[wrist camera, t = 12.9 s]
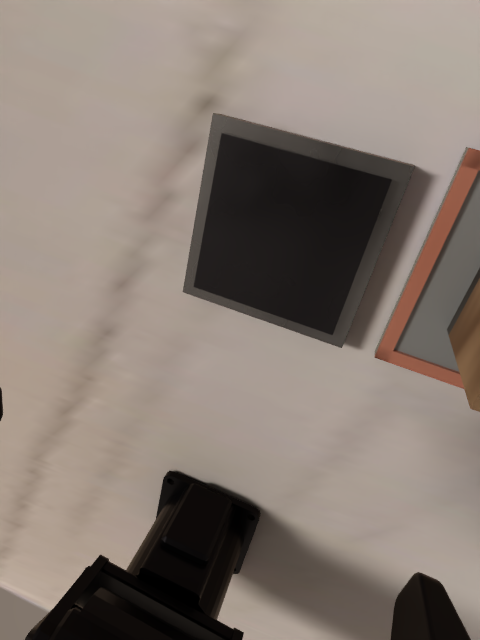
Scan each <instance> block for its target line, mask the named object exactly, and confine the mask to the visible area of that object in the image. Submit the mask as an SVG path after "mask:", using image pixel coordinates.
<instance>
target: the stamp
mask: <svg viewBox="0 0 480 640" xmlns="http://www.w3.org/2000/svg"><path fill="white" fill-rule="evenodd" d="M447 332H448V335H449V339H450V342H451V345H452V349H453V352H454V355H455V359H456V362H457V365H458V369H459V372H460V375H461V379H462V382H463V386H464V389H465V392H466V396H467V399H468V402H469V406H470V408H471V409H473V410H476V411H479V412H480V268H479V270H478V272H477V274H476V275H475V277H474V279H473V281H472V283H471V285H470V287H469V289H468V290H467V292H466V294H465V296H464V298H463V300H462V302H461V304H460V305H459V307H458V309H457V311H456V313H455V315H454V317H453V319H452V320H451V322H450V324H449V326H448V328H447Z"/></svg>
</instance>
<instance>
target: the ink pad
mask: <svg viewBox="0 0 480 640" xmlns="http://www.w3.org/2000/svg"><path fill="white" fill-rule="evenodd" d="M414 167H415V166H414V165H412V164H408V163H404V162H401V161H397V160H393V159H389V158H386V157H382V156H378V155H374V154H370V153H367V152H363V151H359V150H355V149H351V148H348V147H344V146H340V145H336V144H332V143H329V142H325V141H321V140H317V139H313V138H310V137H306V136H302V135H298V134H295V133H291V132H287V131H283V130H279V129H276V128H272V127H268V126H264V125H260V124H257V123H253V122H249V121H245V120H241V119H238V118H234V117H230V116H226V115H222V114H216V113H213V116H212V122H211V128H210V134H209V140H208V146H207V152H206V158H205V164H204V170H203V176H202V181H201V187H200V193H199V199H198V205H197V211H196V217H195V223H194V229H193V235H192V241H191V247H190V252H189V258H188V264H187V270H186V276H185V282H184V288H183V292H184V293H187V294H190V295H193V296H196V297H198V298H201V299H204V300H207V301H210V302H213V303H215V304H218V305H221V306H224V307H227V308H230V309H232V310H235V311H238V312H241V313H244V314H247V315H249V316H252V317H255V318H258V319H261V320H264V321H267V322H269V323H272V324H275V325H278V326H281V327H284V328H286V329H289V330H292V331H295V332H298V333H301V334H303V335H306V336H309V337H312V338H315V339H318V340H320V341H323V342H326V343H329V344H332V345H335V346H337V347H340V348H342V347H343V344H344V342H345V339H346V337H347V334H348V332H349V329H350V327H351V324H352V322H353V319H354V317H355V314H356V312H357V309H358V307H359V304H360V302H361V299H362V297H363V294H364V292H365V289H366V287H367V284H368V282H369V279H370V277H371V274H372V272H373V269H374V267H375V264H376V262H377V259H378V257H379V254H380V252H381V249H382V247H383V245H384V242H385V240H386V237H387V235H388V232H389V230H390V227H391V225H392V222H393V220H394V217H395V215H396V212H397V210H398V207H399V205H400V202H401V200H402V197H403V195H404V192H405V190H406V187H407V185H408V182H409V180H410V177H411V175H412V172H413V170H414Z"/></svg>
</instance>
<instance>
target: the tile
mask: <svg viewBox="0 0 480 640" xmlns="http://www.w3.org/2000/svg"><path fill="white" fill-rule="evenodd" d="M479 268H480V151H479V150H475V149H471V148H467V147H466V150H465V152H464V154H463V156H462V158H461V161H460V163H459V165H458V167H457V170H456V172H455V174H454V176H453V178H452V181H451V183H450V185H449V187H448V190H447V192H446V194H445V196H444V199H443V201H442V203H441V205H440V207H439V210H438V212H437V214H436V216H435V219H434V221H433V223H432V225H431V227H430V230H429V232H428V234H427V236H426V239H425V241H424V243H423V245H422V247H421V250H420V252H419V254H418V256H417V259H416V261H415V263H414V265H413V268H412V270H411V272H410V274H409V276H408V279H407V281H406V283H405V285H404V288H403V290H402V292H401V294H400V296H399V299H398V301H397V303H396V305H395V308H394V310H393V312H392V314H391V317H390V319H389V321H388V323H387V325H386V328H385V330H384V332H383V334H382V337H381V339H380V341H379V343H378V345H377V348H376V350H375V358H378V359H380V360H383V361H386V362H389V363H392V364H395V365H397V366H400V367H403V368H406V369H409V370H412V371H415V372H417V373H420V374H423V375H426V376H429V377H432V378H434V379H437V380H440V381H443V382H446V383H449V384H452V385H454V386H457V387H460V388H463V389H464V386H463V382H462V379H461V375H460V372H459V369H458V365H457V362H456V359H455V355H454V352H453V349H452V345H451V342H450V339H449V335H448V332H447V328H448V326H449V324H450V322H451V320H452V319H453V317H454V315H455V313H456V311H457V309H458V307H459V305H460V304H461V302H462V300H463V298H464V296H465V294H466V292H467V290H468V289H469V287H470V285H471V283H472V281H473V279H474V277H475V275H476V274H477V272H478V270H479Z"/></svg>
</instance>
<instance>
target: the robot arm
mask: <svg viewBox="0 0 480 640" xmlns="http://www.w3.org/2000/svg"><path fill="white" fill-rule="evenodd" d="M2 415H3V404H2V390H1V388H0V421H1V418H2ZM260 514H261V513H260V511H259V510H258V509H257V508H256V507H254V506H251V505H249V504H247V503H244V502H242V501H240V500H238V499H235V498H233V497H231V496H229V495H226V494H224V493H222V492H219V491H217V490H215V489H213V488H210V487H208V486H206V485H204V484H201V483H199V482H197V481H194V480H192V479H190V478H188V477H185V476H183V475H181V474H178V473H176V472H174V471H169V472H167V474H166V475H165V477H164V479H163V484H162V490H161V495H160V500H159V506H158V511H157V516H156V521H155V522H154V524H153V526H152V527H151V529H150V531H149V532H148V534H147V536H146V538H145V539H144V541H143V543H142V544H141V546H140V548H139V549H138V551H137V553H136V554H135V556H134V558H133V559H132V561H131V563H130V565H129V566H128V568H127V570H124V569H122V568H120V567H118V566H117V565H115V564H113V563H111V562H109V559H108V558H106V557H104V556H102V555H100V556H99V557H98V558H97V559H96V561H95V562H94V563H93V564H92V565H91V567H90V566H88V567H86V568H85V570H84V571H83V573H82V574H81V575H80V577H79V578H78V579H77V580H76V582H75V583H74V584H73V585H72V586H71V588H70V589H69V590H68V591H67V593H66V594H65V595H64V596H63V597H62V599H61V600H60V601H59V602H58V604H57V605H56V606H55V607H54V608H53V609H52V610H51V611H50V612H49V613H48V614H47V615H46V616H45V617H44V618H43V619H42V620H41V621H40V622H39V623H38V624H37V625H36V626H35V627H34V628H33V629H32V630H31V631H30V632H29V633H28V635H27V637H26V638H25V640H242V638H243V634H244V633H243V632H242V631H240V630H238V629H236V628H234V629H232V628H230V627H228V626H226V625H225V624H223V623H221V622H219V621H217V618H218V615H219V612H220V609H221V606H222V603H223V601H224V598H225V595H226V592H227V589H228V586H229V583H230V580H231V577H232V575H233V574H238V573H239V572H240V569H241V566H242V564H243V561H244V558H245V556H246V553H247V550H248V548H249V545H250V542H251V540H252V537H253V534H254V532H255V529H256V526H257V524H258V521H259V518H260ZM391 640H471V639H470V637H469V635H468V633H467V631H466V629H465V627H464V625H463V623H462V621H461V620H460V618H459V616H458V614H457V612H456V610H455V608H454V606H453V604H452V602H451V600H450V598H449V596H448V594H447V592H446V590H445V588H444V587H443V585H442V584H441V583H440V582H439V581H438V580H436V579H434V578H432V577H429V576H427V575H425V574H423V573H420V572H418V573H415V574H414V575H413V576H412V577H411V579H410V580H409V581H408V583H407V584H406V585H405V587H404V588H403V589H402V591H401V592H400V593H399V595H398V597H397V599H396V602H395V606H394V614H393V623H392V632H391Z"/></svg>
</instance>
